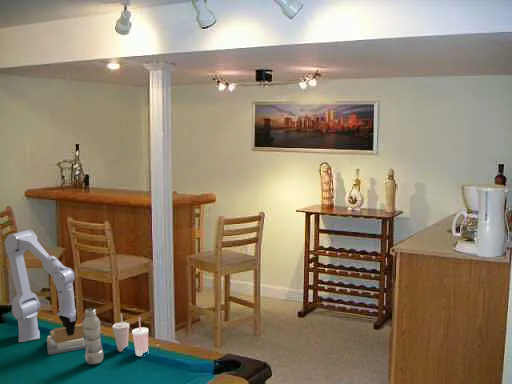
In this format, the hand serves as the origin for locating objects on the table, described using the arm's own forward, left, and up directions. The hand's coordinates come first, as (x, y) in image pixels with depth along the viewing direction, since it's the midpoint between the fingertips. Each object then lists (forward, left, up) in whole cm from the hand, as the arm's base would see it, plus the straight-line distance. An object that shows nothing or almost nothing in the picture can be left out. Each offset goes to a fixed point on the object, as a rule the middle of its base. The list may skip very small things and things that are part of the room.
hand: (69, 333), depth 222 cm
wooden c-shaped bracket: (-3, 0, -2) cm, 4 cm away
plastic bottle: (+20, +7, -5) cm, 22 cm away
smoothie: (+13, +18, -5) cm, 23 cm away
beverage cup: (+20, +24, -5) cm, 32 cm away
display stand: (-2, 0, -5) cm, 5 cm away
